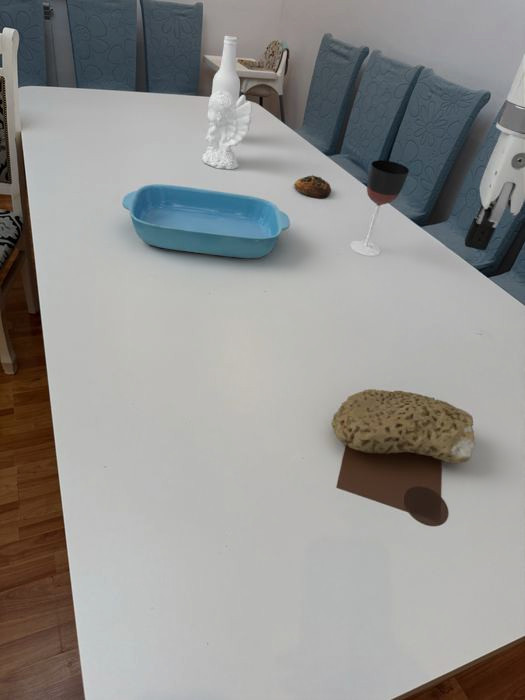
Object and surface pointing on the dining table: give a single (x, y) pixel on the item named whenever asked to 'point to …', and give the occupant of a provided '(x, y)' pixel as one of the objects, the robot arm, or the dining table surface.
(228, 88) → the alcohol
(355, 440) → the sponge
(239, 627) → the dining table surface
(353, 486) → the brown panel with disc
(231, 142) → the cherub figurine
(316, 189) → the bread roll
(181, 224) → the casserole dish
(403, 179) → the wineglass
